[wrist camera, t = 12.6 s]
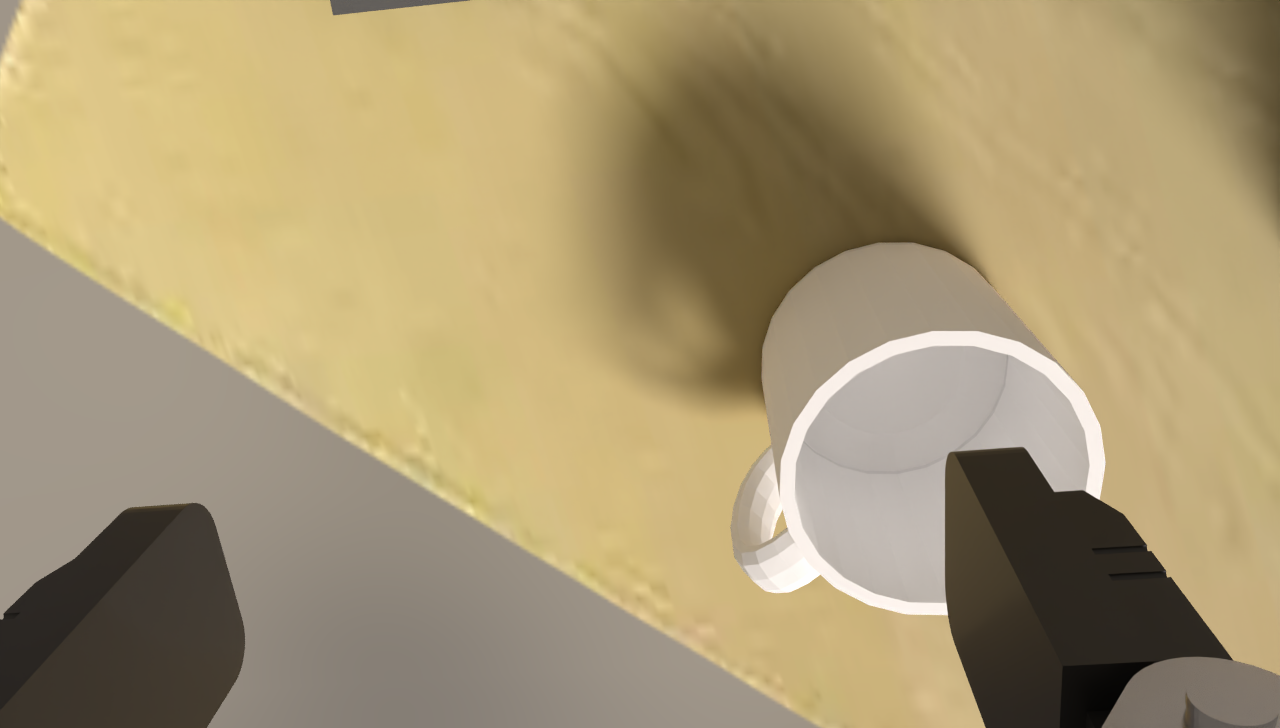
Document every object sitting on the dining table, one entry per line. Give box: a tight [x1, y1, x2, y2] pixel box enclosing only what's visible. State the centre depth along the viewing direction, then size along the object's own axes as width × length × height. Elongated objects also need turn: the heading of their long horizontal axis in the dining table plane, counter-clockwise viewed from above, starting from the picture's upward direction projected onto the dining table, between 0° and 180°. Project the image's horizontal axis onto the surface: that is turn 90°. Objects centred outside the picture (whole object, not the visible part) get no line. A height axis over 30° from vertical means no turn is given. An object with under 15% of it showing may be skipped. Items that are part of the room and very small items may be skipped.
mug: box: [731, 243, 1106, 615], centre depth 38 cm, size 13×10×10 cm
